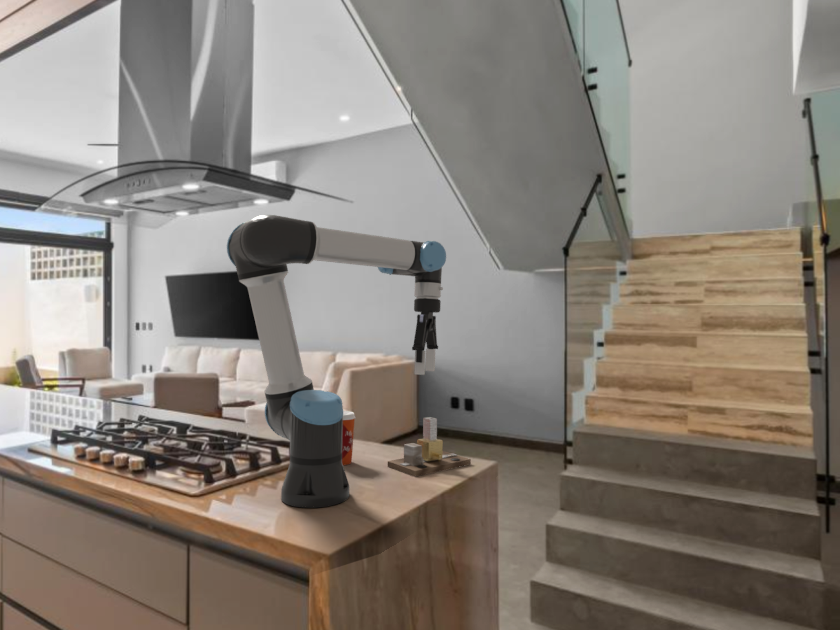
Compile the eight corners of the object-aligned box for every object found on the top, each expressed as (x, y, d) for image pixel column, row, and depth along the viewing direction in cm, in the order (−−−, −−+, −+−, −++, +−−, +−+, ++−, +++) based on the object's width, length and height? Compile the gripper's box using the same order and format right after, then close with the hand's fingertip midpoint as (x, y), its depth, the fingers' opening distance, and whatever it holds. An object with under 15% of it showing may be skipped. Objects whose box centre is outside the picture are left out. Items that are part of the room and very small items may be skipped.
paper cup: (353, 466, 150) (353, 415, 150) (325, 466, 150) (325, 415, 150) (357, 459, 158) (357, 410, 158) (330, 459, 158) (331, 410, 158)
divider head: (433, 463, 147) (433, 421, 147) (417, 457, 153) (417, 417, 153) (447, 460, 150) (447, 419, 150) (430, 455, 156) (431, 416, 156)
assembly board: (414, 476, 141) (415, 451, 141) (387, 466, 151) (387, 442, 151) (470, 464, 154) (470, 441, 154) (442, 455, 163) (442, 433, 163)
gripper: (431, 295, 144) (428, 376, 144) (448, 301, 168) (445, 370, 168) (403, 295, 146) (400, 375, 145) (424, 300, 170) (421, 369, 170)
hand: (424, 372), depth 157 cm, fingers open, 13 cm apart
